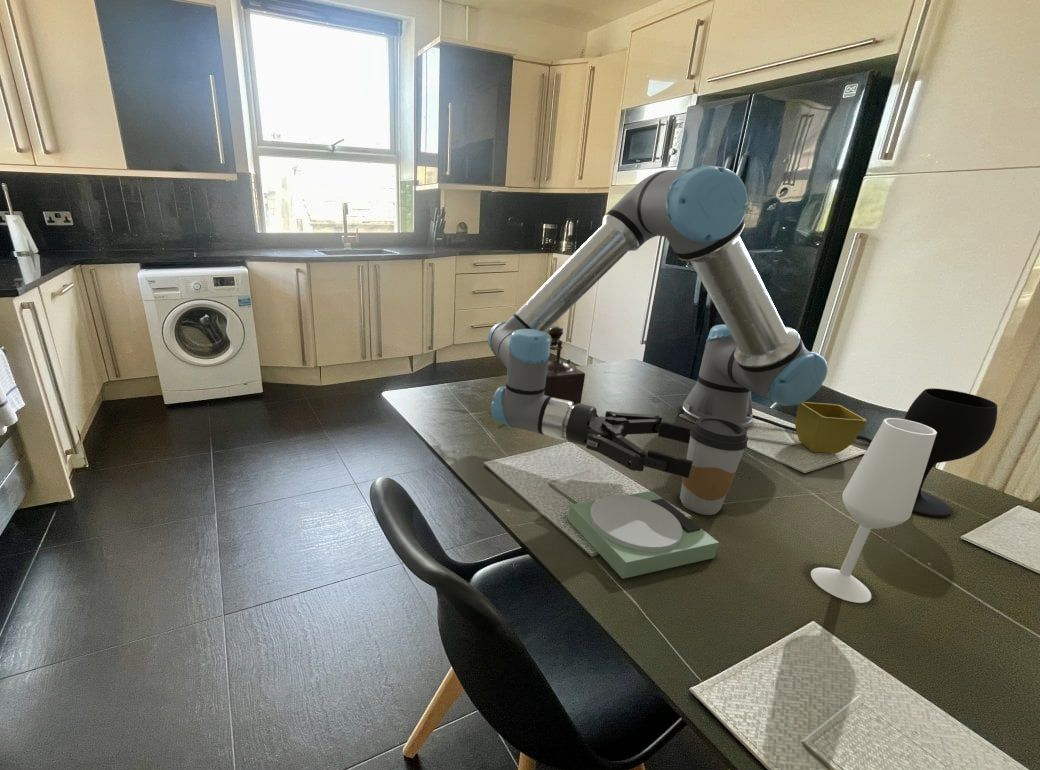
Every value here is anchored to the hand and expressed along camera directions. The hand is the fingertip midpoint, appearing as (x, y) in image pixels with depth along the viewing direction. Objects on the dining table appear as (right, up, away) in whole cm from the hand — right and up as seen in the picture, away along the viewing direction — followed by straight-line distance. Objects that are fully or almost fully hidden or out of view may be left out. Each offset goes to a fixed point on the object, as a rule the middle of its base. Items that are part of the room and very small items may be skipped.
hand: (695, 452), depth 81 cm
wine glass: (+42, -9, +6) cm, 44 cm away
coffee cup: (+2, -9, +2) cm, 10 cm away
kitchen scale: (-12, -12, -7) cm, 19 cm away
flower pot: (+40, -2, +25) cm, 47 cm away
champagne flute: (+12, -17, -15) cm, 25 cm away
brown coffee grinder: (-14, +9, +46) cm, 49 cm away
